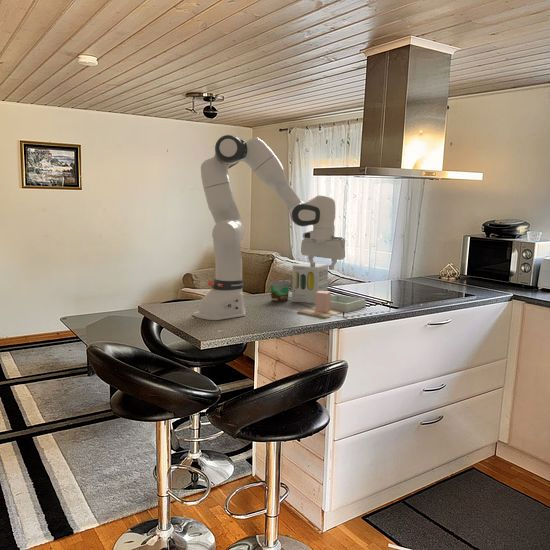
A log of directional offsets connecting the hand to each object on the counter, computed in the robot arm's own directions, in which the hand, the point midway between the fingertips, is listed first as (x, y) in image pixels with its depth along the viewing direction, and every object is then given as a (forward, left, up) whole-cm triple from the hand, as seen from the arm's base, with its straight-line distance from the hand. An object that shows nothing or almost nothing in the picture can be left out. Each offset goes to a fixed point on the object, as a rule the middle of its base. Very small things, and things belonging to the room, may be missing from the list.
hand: (321, 268), depth 211 cm
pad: (0, 0, -19) cm, 19 cm away
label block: (+2, 0, -18) cm, 19 cm away
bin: (+16, 0, -19) cm, 25 cm away
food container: (+8, +28, -20) cm, 35 cm away
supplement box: (+17, +19, -20) cm, 32 cm away
